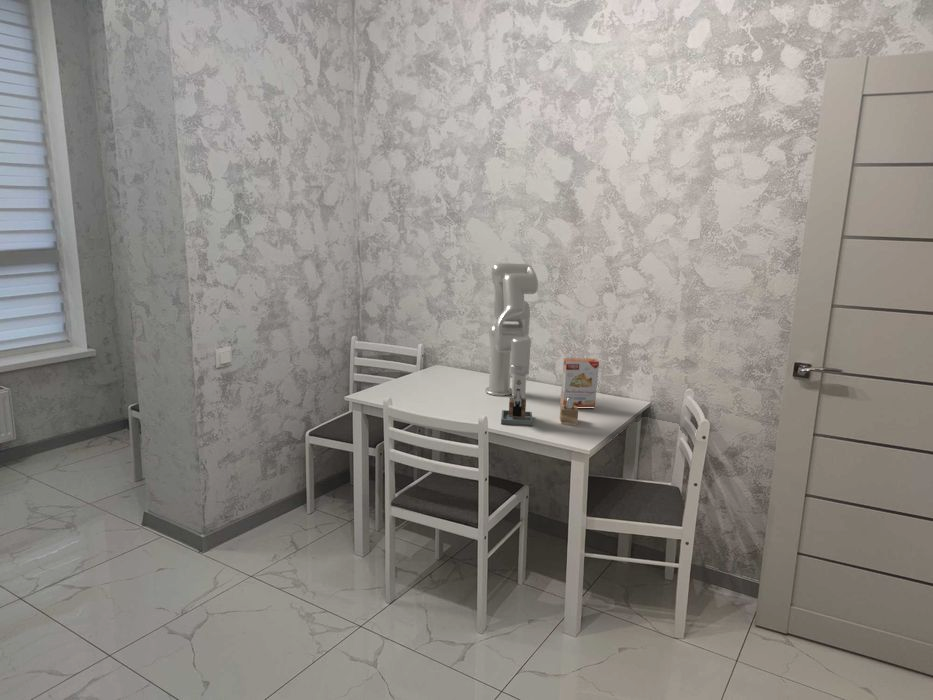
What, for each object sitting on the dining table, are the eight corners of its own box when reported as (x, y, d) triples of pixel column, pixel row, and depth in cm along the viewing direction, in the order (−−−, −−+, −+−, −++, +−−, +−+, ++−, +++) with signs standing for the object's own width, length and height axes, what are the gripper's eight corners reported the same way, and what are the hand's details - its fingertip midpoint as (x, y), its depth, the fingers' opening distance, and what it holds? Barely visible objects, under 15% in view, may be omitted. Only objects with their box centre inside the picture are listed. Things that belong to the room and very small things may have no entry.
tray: (501, 414, 259) (502, 410, 259) (531, 416, 258) (531, 411, 258) (501, 424, 247) (501, 419, 247) (532, 426, 247) (532, 421, 246)
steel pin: (565, 418, 254) (566, 396, 252) (571, 419, 254) (572, 397, 252) (565, 420, 252) (567, 398, 250) (571, 420, 252) (573, 399, 250)
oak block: (559, 419, 257) (560, 404, 255) (575, 420, 256) (576, 405, 255) (560, 424, 250) (561, 409, 249) (577, 425, 250) (578, 410, 249)
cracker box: (563, 409, 270) (566, 360, 266) (559, 404, 276) (563, 357, 271) (595, 409, 271) (599, 361, 267) (591, 405, 277) (595, 358, 273)
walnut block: (508, 411, 256) (509, 397, 255) (524, 412, 255) (525, 398, 254) (508, 416, 250) (509, 402, 248) (525, 417, 249) (525, 403, 248)
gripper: (529, 375, 240) (526, 420, 244) (528, 364, 257) (526, 407, 261) (509, 374, 240) (507, 419, 244) (509, 363, 257) (507, 406, 261)
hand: (516, 412), depth 252 cm, fingers closed on walnut block, 6 cm apart
